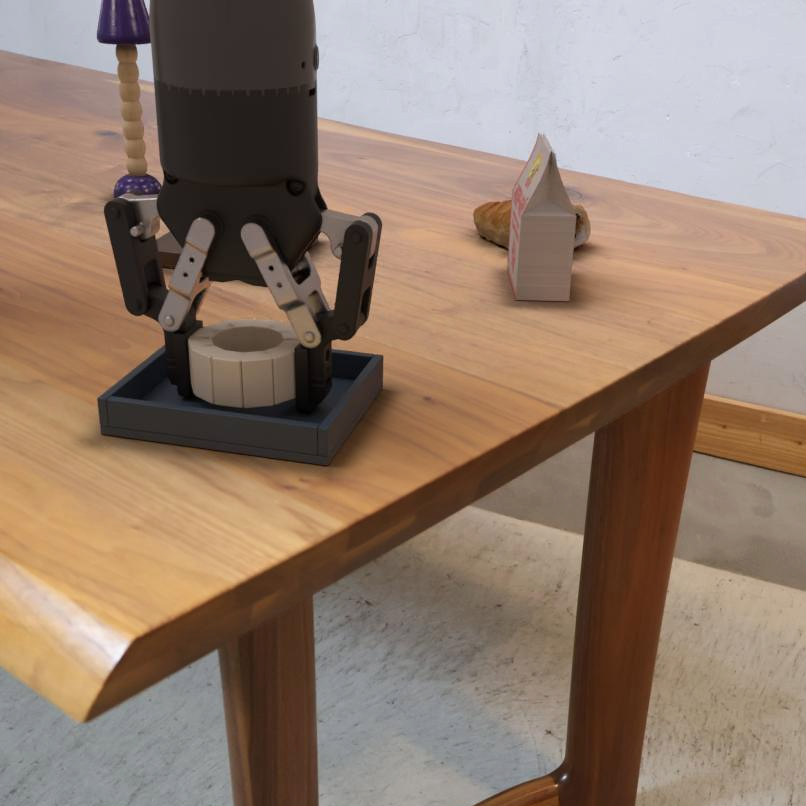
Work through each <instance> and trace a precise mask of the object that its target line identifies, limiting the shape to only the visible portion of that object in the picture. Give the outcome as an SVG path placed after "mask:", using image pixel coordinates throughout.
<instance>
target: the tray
mask: <svg viewBox="0 0 806 806" xmlns="http://www.w3.org/2000/svg"><path fill="white" fill-rule="evenodd" d="M383 388H384V354H379V353H369V352H362V351H354V350H353V351H352V350H345V349H337V348H332V387H331V389H330V392H329V394H328V395H327V396H326V397H325V399H324V400H323V401H322V402H321V404H318V406H317V407H316V408H315V409H314V411H313V412H312V413H305V412H298V411H297V409H296V398H294V399H291V400H288V401H286V402H283V403H280V404H277V405H275V404H274V405H273V406H265V407H254V408H244V406H243V407H242V408H236V407H229V406H221V405H215V404H211V403H209V402H207V401H205V400H203V399H201V398H199V397H197V396H196V395H195V396H194V397H193V398H191V397H183V396H179V395H178V392H177V385H172V384H171V382H170V380H169V378H168V376H167V364H166V352H165V344H164V345H162V346H161V347H160V348H158V349H157V350H156V351H154V352H153V353H152V354H150V355H149V357H147V358H146V359H144V360H143V361H142V362H141V363H139V364H138V365H137V366H136V367H134V368H133V369H132V370H131V371H130V372H128V373H127V374H126V375H125V376H123V377H122V378H121V379H119V380H118V381H117V382H116V383H114V384H113V385H112V386H110V387H109V388H108V389H107V390H106V391H104V392H103V393H101V395H99V396H98V397H97V398H96V403H97V409H98V419H99V425H100V426H99V428H100V429H99V430H100V434H101V435H105V436H112V437H113V436H114V437H120V438H128V439H134V440H141V441H148V442H155V443H156V442H157V443H162V444H170V445H177V446H183V447H191V448H197V449H206V450H212V451H219V452H227V453H234V454H240V455H247V456H255V457H263V458H269V459H277V460H285V461H293V462H299V463H306V464H313V465H320V466H325V467H326V466H329V464H330V463H331V462H332V460H333V459H334V457H335V456H336V455H337V453H338V452H339V450H340V449H341V448H342V446H343V445H344V443H345V442H346V440H347V439H348V437H349V436H350V435H351V433H352V432H353V431H354V429H355V428H356V426H357V425H358V424H359V422H360V421H361V419H362V418H363V416H364V415H365V414H366V412H367V411H368V410H369V408H370V407H371V405H372V404H373V402H374V401H375V400H376V398H377V397H378V396H379V394H380V393H381V391H382V390H383Z"/></svg>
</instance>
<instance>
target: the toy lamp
mask: <svg viewBox="0 0 806 806" xmlns="http://www.w3.org/2000/svg"><path fill="white" fill-rule="evenodd" d="M148 11H149V10H148V8H147V6H146V3H145V0H101V3H100V9H99V16H98V22H97V28H96V29H97V30H96V40H97V42H98V43H100V44H104V45H115V57H116V60H117V62H118V64H117V68H116V70H117V71H116V73H117V77H118V80H119V84H118V94H119V97H120V99H121V103H120V114H121V117H122V119H123V122H122V134H123V136H124V138H125V140H124V152H125V154H126V157H127V158H126V163H125V164H126V170H127V172H128V173H127V174H125V175H123V176H121V177H120V178H119V179H117V181H116V182H115V185H114V189H113V198H114V199H115V198H117V197H119V196H121V195H123V194H125V193H127V192H129V191H132V190H139V191H141V192H143V193H144V194H145V195H155V194H159V192H160V190H161V188H162V185H163V184H161V181H159V180H158V178H156V177H155V176H153V175H151V174H149V173H148V161H147V158H146V157H145V155H146V151H147V146H146V142H145V140H144V135H145V125H144V123H143V120H142V117H143V107H142V104H141V101H140V98H141V86H140V84H139V82H138V81H139V78H140V68H139V66H138V64H137V61H138V55H139V53H138V48H137V46H140V45H148V44H149V45H151V38H150V23H149V12H148Z"/></svg>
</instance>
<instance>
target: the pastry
mask: <svg viewBox="0 0 806 806" xmlns="http://www.w3.org/2000/svg"><path fill="white" fill-rule="evenodd" d="M511 202H512V199H508V200H507V199H506V200H502V201H498V200H497V201H495V200H494V201H488V202H485V203H483V204H482V205H479V206H477V207H476V208H475V209H474V210H473V213H472V217H473V224H474V226H475V229H476V231H477V233H479V235H480V236H481V238H485V239H486V240H487V241H488V242H490V241H492V242H493V243H494V244H495V245H499V246H502V247H504V248H505V249H508V250H509V234H510V218H511ZM571 204H572V207H573V209H574V212H575V214H576V227H575V238H574V249H576V248H578V247H580V246H582V245H584V244H585V243H587V242H588V241H589V238H590V236H591V231H592V230H591V221H590V219H589V215H588V212H587V210H586V209H585V207H584V206H583V205H582V204H577V205H575V204H574V203H571Z"/></svg>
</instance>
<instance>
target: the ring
mask: <svg viewBox="0 0 806 806" xmlns="http://www.w3.org/2000/svg"><path fill="white" fill-rule="evenodd" d="M299 343H300V341H299V339H298V337H297V335H296V333H295V331H294V329H293V327H292V325H291V323H288V322H285V321H281V320H271V319H263V318H251V317H250V318H239V319H227V320H221V321H217V322H215V323H212V324H211V323H210V324H207V325H203V327H202V328H200V329H198V330H197V331H196V332H195V333H194V334H192V335H191V336H190V337H189V339H188V350H189V364H190V378H191V386H192V389H193V393H194V394H195V395H196V396H197V397H199V398H201V399H203V400H205V401H207V402H209V403H211V404H215V405H221V406H229V407H236V408H242V407H243V406H244V408H254V407H265V406H273V405H274V404H275V405H277V404H280V403H283V402H286V401H288V400H291V399H294V398H296V385H295V350H294V348H295V347H296V346H297V345H298V344H299Z"/></svg>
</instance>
